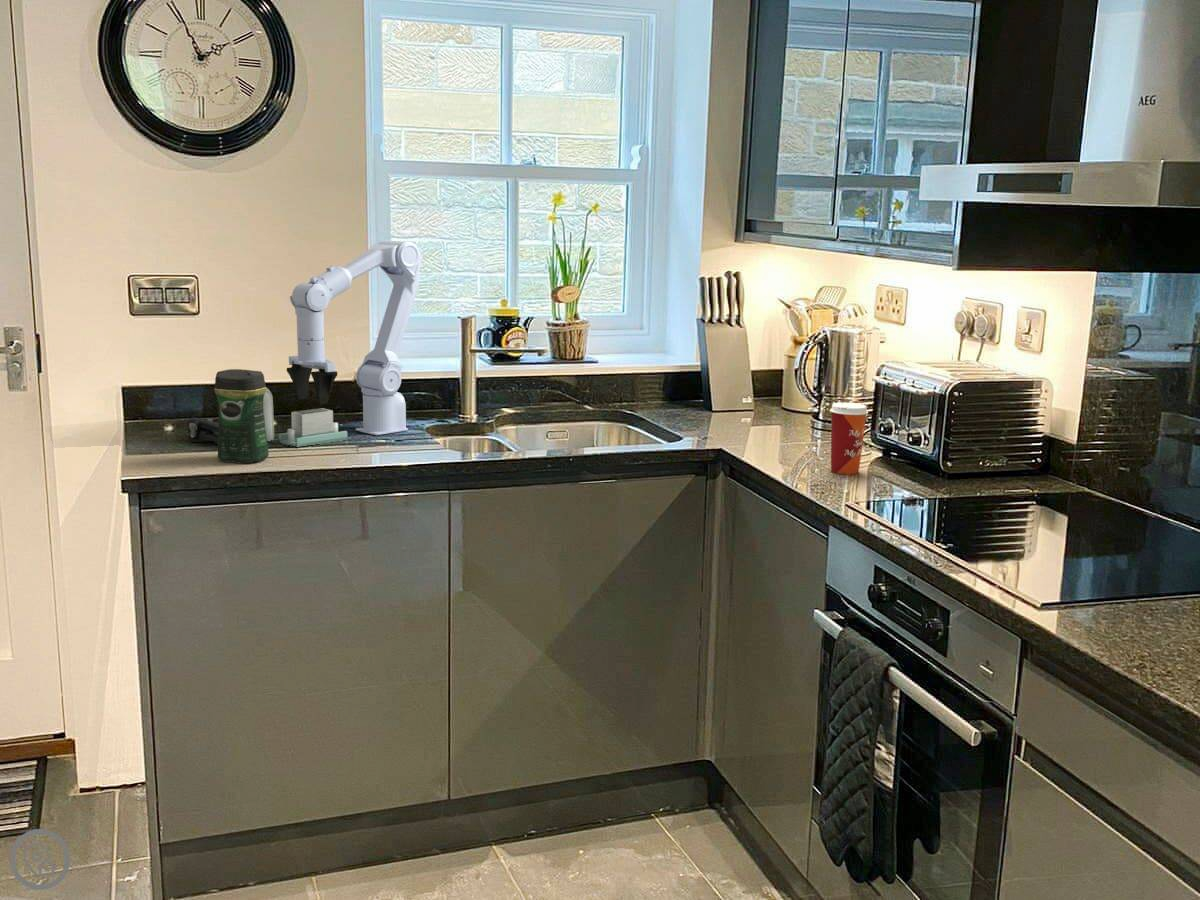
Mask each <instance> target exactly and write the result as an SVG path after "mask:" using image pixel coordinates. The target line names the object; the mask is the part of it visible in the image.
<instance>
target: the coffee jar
mask: <svg viewBox="0 0 1200 900" xmlns="http://www.w3.org/2000/svg"><path fill="white" fill-rule="evenodd" d="M265 381H266V380H265V375H264V373H263V372H262V371H261V370H250V369H239V368H238V369H237V368H233V369H232V368H231V369H223V370H220V371H217V372H216V374H215V381H214V393H215V396H216V399H217V404H218V423H219V431H218V443H217V457H218V459H219V460H220V461H221V462H222V461H223V462H227V461H229V462H228V463H236V462H240V464H244V463H245V464H247V463H253V462H258V461H260V462H263V461H264V460H266V459H267V458H268V457H269V444H268V442H267V436H266V429H265V420H264V410H263V399H264V395H265V392H266V388H267V387H266V386H267V385H266V382H265ZM262 460H263V461H262Z"/></svg>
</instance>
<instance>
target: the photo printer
mask: <svg viewBox="0 0 1200 900" xmlns="http://www.w3.org/2000/svg"><path fill="white" fill-rule="evenodd" d="M263 410H264V420H265V429H266V436H267V441H268V442H272V441H273V440H274V439H275V426H274V425H275V423H274V397H273V394H272V391H270V389H269V388H268V387H266V392H265V395H264V399H263ZM271 440H272V441H271Z"/></svg>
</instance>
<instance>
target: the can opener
mask: <svg viewBox="0 0 1200 900" xmlns="http://www.w3.org/2000/svg"><path fill="white" fill-rule="evenodd" d="M186 424H187V426H186V427H187V433H188V439H189V441H192V442H194V443H197V442H203V443H208V442H210V441H213V442H214V443H216V444H218V431H219V422H215V421H214V419H213V418H207V419H205V418H199V417H194V416H193V417H191V418H190V419H189V420H188V421H187V423H186ZM213 442H212V443H213Z"/></svg>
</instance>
